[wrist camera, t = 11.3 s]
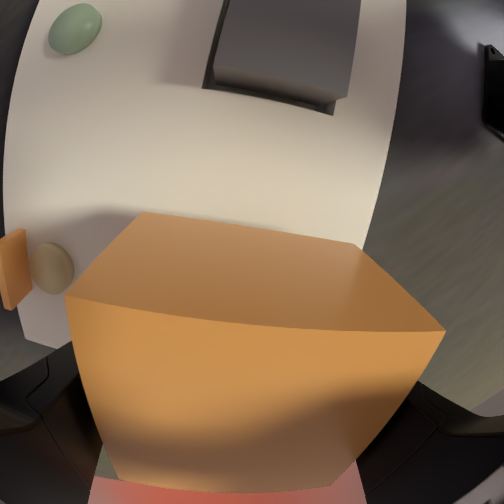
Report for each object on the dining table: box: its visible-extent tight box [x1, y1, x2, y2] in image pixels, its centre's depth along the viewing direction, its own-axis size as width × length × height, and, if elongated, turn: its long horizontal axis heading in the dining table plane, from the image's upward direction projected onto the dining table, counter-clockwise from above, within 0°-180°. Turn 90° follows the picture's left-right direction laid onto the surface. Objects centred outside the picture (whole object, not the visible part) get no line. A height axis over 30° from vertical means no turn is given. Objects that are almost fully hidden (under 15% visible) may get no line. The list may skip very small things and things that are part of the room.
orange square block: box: [64, 212, 446, 493], centre depth 8 cm, size 7×7×5 cm
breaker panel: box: [0, 0, 406, 349], centre depth 10 cm, size 16×20×5 cm
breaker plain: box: [213, 0, 361, 106], centre depth 8 cm, size 4×4×3 cm
